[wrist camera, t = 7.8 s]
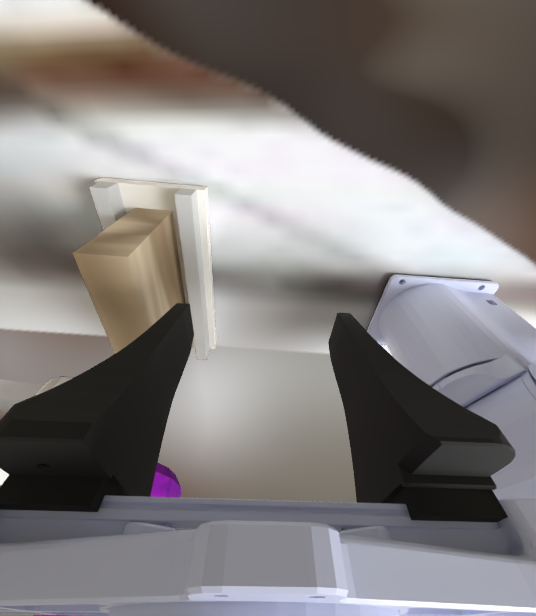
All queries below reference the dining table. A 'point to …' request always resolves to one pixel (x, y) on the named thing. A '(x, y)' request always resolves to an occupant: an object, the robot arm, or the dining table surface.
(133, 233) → the tan rectangular block
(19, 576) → the robot arm
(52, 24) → the dining table surface
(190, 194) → the track board
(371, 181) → the dining table surface
